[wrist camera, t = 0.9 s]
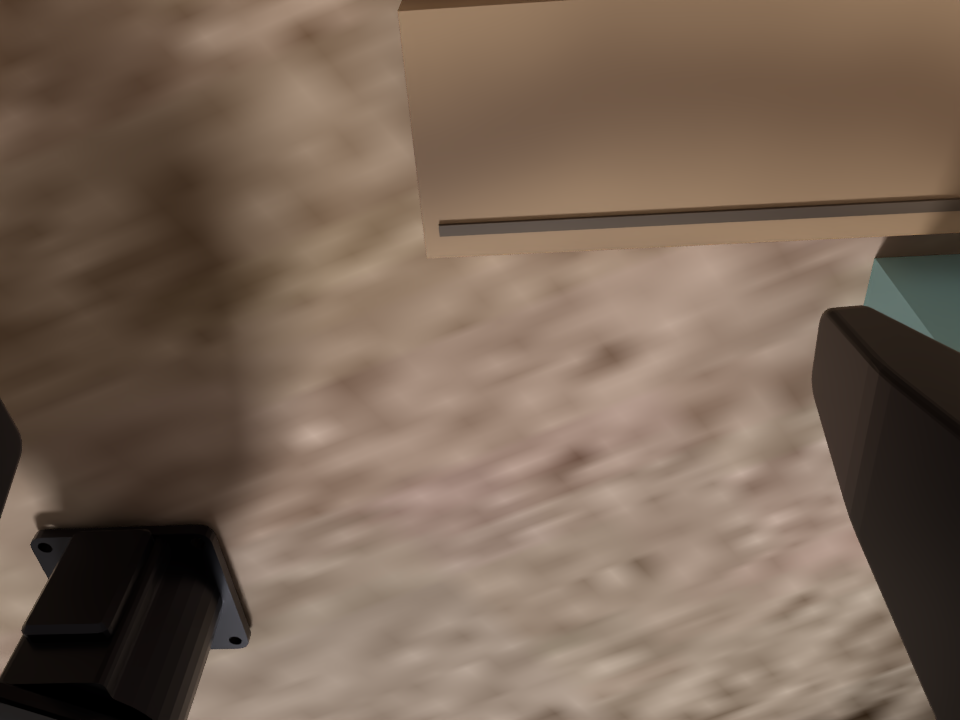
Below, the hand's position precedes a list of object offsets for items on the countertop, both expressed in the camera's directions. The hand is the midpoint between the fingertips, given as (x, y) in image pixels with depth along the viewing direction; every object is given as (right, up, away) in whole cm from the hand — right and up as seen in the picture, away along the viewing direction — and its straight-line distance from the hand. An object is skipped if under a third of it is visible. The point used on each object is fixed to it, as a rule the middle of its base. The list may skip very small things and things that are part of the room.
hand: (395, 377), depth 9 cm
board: (+8, +6, +11) cm, 15 cm away
